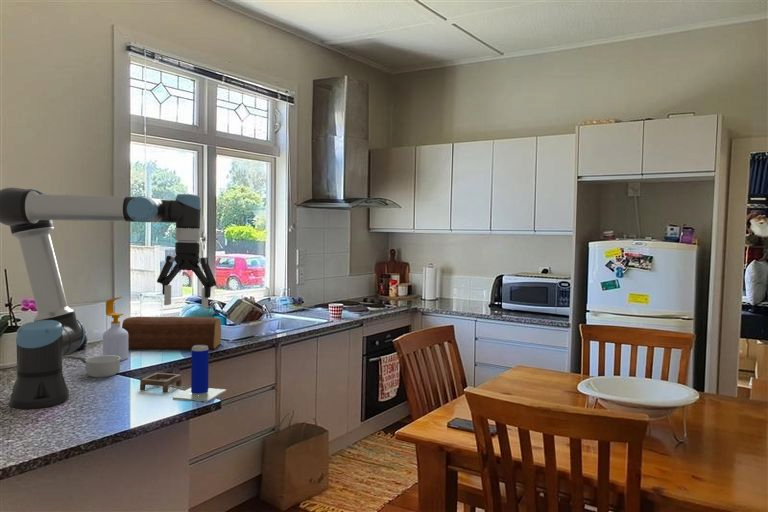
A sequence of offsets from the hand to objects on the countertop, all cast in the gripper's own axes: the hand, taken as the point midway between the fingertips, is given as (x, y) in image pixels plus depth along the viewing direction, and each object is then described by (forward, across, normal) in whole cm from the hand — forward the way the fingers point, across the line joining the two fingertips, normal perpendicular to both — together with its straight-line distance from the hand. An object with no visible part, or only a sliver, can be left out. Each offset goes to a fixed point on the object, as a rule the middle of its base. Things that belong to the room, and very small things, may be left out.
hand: (186, 306), depth 187 cm
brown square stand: (+27, +7, +3) cm, 28 cm away
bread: (+28, +39, -54) cm, 73 cm away
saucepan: (+28, +40, -6) cm, 49 cm away
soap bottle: (+28, +47, -27) cm, 61 cm away
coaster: (+27, -10, +6) cm, 29 cm away
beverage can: (+26, -9, +6) cm, 29 cm away
